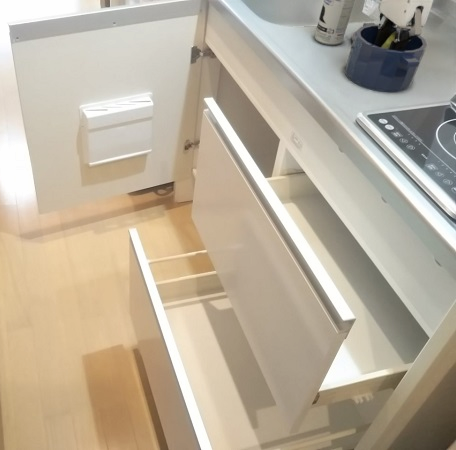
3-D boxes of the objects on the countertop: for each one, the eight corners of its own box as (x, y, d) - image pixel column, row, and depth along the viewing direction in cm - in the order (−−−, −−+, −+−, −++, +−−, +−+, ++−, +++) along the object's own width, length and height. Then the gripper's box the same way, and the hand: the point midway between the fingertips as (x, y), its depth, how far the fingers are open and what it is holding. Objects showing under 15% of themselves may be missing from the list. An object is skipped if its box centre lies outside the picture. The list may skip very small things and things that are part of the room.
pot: (385, 56, 118) (398, 18, 113) (430, 97, 105) (448, 57, 99) (329, 58, 116) (340, 20, 111) (368, 100, 103) (382, 59, 97)
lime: (377, 59, 106) (386, 35, 102) (372, 49, 109) (379, 26, 106) (399, 61, 106) (409, 37, 102) (393, 51, 109) (401, 27, 106)
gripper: (465, -27, 89) (424, 72, 102) (414, -55, 102) (383, 37, 114) (426, -26, 88) (389, 74, 101) (379, -54, 100) (351, 38, 113)
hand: (386, 53), depth 107 cm, fingers closed on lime, 4 cm apart
